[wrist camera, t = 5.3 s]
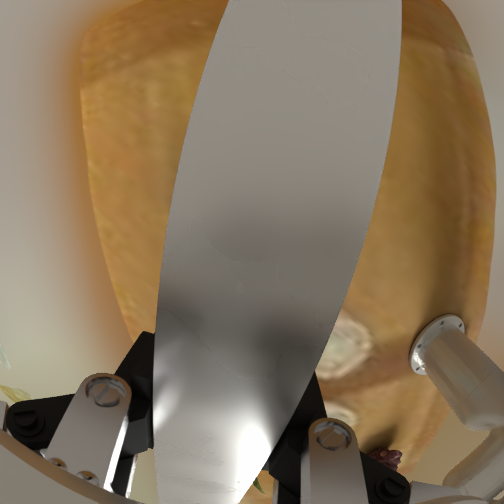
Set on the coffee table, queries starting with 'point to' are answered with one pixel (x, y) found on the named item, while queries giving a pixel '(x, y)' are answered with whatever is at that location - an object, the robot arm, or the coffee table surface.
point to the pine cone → (387, 457)
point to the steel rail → (265, 229)
